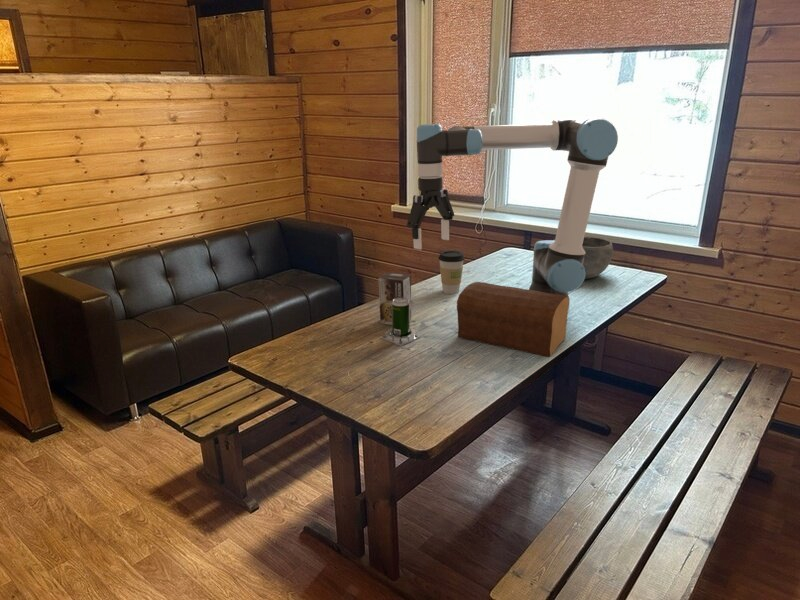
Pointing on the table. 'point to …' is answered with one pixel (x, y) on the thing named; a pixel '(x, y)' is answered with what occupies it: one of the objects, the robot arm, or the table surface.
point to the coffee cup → (451, 270)
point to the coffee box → (393, 294)
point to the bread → (512, 317)
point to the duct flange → (400, 340)
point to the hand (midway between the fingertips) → (431, 244)
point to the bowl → (596, 255)
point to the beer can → (400, 317)
